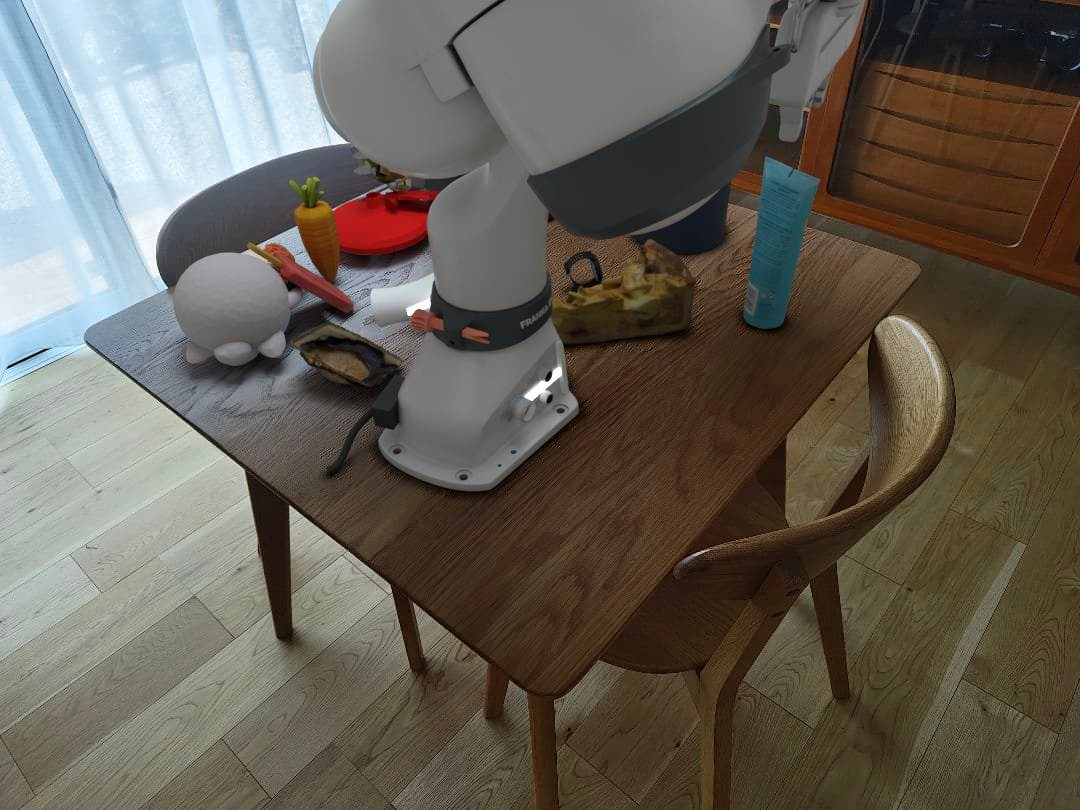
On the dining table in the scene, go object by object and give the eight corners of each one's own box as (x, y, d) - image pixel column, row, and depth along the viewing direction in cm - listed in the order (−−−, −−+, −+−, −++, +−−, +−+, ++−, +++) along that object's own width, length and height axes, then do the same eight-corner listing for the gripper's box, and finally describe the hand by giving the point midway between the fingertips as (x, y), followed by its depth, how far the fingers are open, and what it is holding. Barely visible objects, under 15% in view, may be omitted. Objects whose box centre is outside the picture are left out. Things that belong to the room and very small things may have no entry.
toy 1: (200, 290, 96) (184, 392, 89) (156, 227, 86) (134, 336, 79) (314, 281, 97) (306, 382, 90) (284, 217, 86) (272, 325, 79)
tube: (800, 323, 91) (835, 171, 79) (775, 339, 89) (806, 186, 76) (751, 298, 96) (776, 151, 83) (725, 313, 94) (748, 164, 81)
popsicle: (253, 261, 84) (353, 317, 96) (261, 251, 84) (359, 309, 96) (237, 240, 88) (335, 297, 100) (244, 231, 88) (341, 289, 100)
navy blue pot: (706, 262, 103) (713, 201, 97) (620, 242, 108) (622, 183, 102) (735, 221, 111) (743, 162, 105) (653, 205, 116) (657, 148, 110)
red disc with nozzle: (458, 234, 111) (452, 189, 106) (376, 280, 102) (367, 233, 97) (386, 205, 119) (378, 162, 114) (305, 246, 110) (293, 201, 105)
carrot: (305, 285, 102) (275, 180, 92) (333, 269, 105) (307, 165, 95) (329, 296, 100) (301, 190, 90) (357, 279, 103) (333, 174, 93)
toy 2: (280, 207, 108) (344, 222, 122) (438, 190, 98) (488, 209, 112) (277, 139, 107) (341, 161, 121) (436, 115, 98) (486, 143, 111)
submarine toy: (564, 216, 109) (552, 189, 114) (389, 203, 102) (384, 175, 107) (559, 237, 111) (547, 210, 117) (387, 226, 104) (383, 198, 109)
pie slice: (655, 290, 98) (659, 235, 93) (696, 331, 91) (703, 274, 86) (526, 324, 93) (523, 268, 88) (559, 371, 86) (557, 313, 81)
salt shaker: (444, 271, 87) (361, 286, 88) (459, 332, 90) (378, 346, 91) (453, 257, 94) (376, 271, 95) (466, 314, 97) (391, 327, 98)
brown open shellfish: (330, 315, 88) (324, 341, 90) (286, 341, 81) (280, 368, 83) (408, 358, 87) (400, 383, 89) (369, 387, 80) (362, 414, 82)
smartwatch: (601, 296, 97) (602, 262, 94) (562, 294, 98) (561, 260, 95) (605, 279, 100) (606, 246, 97) (567, 277, 101) (566, 244, 98)
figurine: (192, 286, 92) (285, 253, 93) (194, 261, 97) (283, 229, 97) (223, 332, 97) (311, 299, 98) (224, 305, 102) (308, 274, 102)
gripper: (841, -1, 59) (807, 167, 69) (888, -54, 73) (854, 93, 82) (762, -8, 62) (739, 155, 71) (821, -58, 75) (795, 85, 84)
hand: (801, 121), depth 77 cm, fingers open, 8 cm apart
